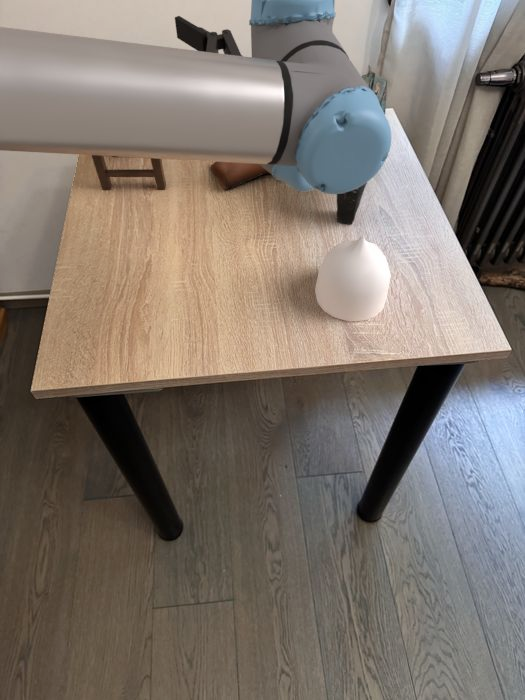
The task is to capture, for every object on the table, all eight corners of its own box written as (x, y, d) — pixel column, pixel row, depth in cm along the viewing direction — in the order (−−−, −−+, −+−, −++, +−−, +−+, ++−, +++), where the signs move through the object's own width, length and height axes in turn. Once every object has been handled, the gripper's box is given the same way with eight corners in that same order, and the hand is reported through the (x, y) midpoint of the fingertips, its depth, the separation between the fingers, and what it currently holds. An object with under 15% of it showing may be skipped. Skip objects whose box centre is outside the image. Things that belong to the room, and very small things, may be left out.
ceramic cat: (346, 156, 98) (363, 46, 82) (380, 161, 97) (403, 51, 81) (326, 223, 87) (340, 112, 71) (363, 230, 86) (386, 119, 70)
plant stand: (100, 191, 93) (84, 138, 84) (111, 151, 99) (97, 99, 91) (166, 190, 93) (156, 138, 84) (172, 151, 99) (164, 98, 91)
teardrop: (311, 317, 76) (318, 260, 66) (317, 264, 82) (324, 204, 72) (386, 325, 75) (405, 268, 65) (386, 271, 81) (403, 211, 71)
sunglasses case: (287, 138, 101) (298, 119, 94) (303, 169, 101) (314, 153, 94) (206, 166, 96) (212, 148, 89) (222, 199, 96) (229, 184, 89)
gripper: (150, 173, 60) (64, 98, 69) (306, 100, 69) (211, 42, 78) (137, 112, 53) (44, 39, 63) (310, 40, 63) (207, -14, 72)
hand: (137, 41), depth 70 cm, fingers open, 13 cm apart
